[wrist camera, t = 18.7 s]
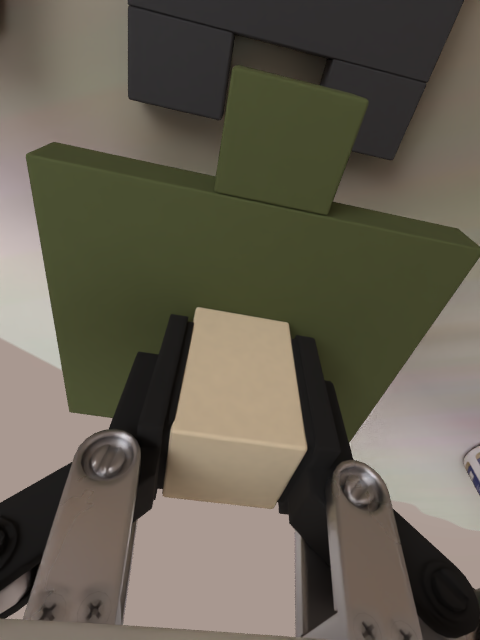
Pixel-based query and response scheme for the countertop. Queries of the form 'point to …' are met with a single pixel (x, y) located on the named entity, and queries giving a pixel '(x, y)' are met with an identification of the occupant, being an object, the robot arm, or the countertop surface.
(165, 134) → the countertop surface
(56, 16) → the countertop surface
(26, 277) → the countertop surface
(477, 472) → the pill bottle
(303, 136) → the olive tile
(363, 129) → the base tile
